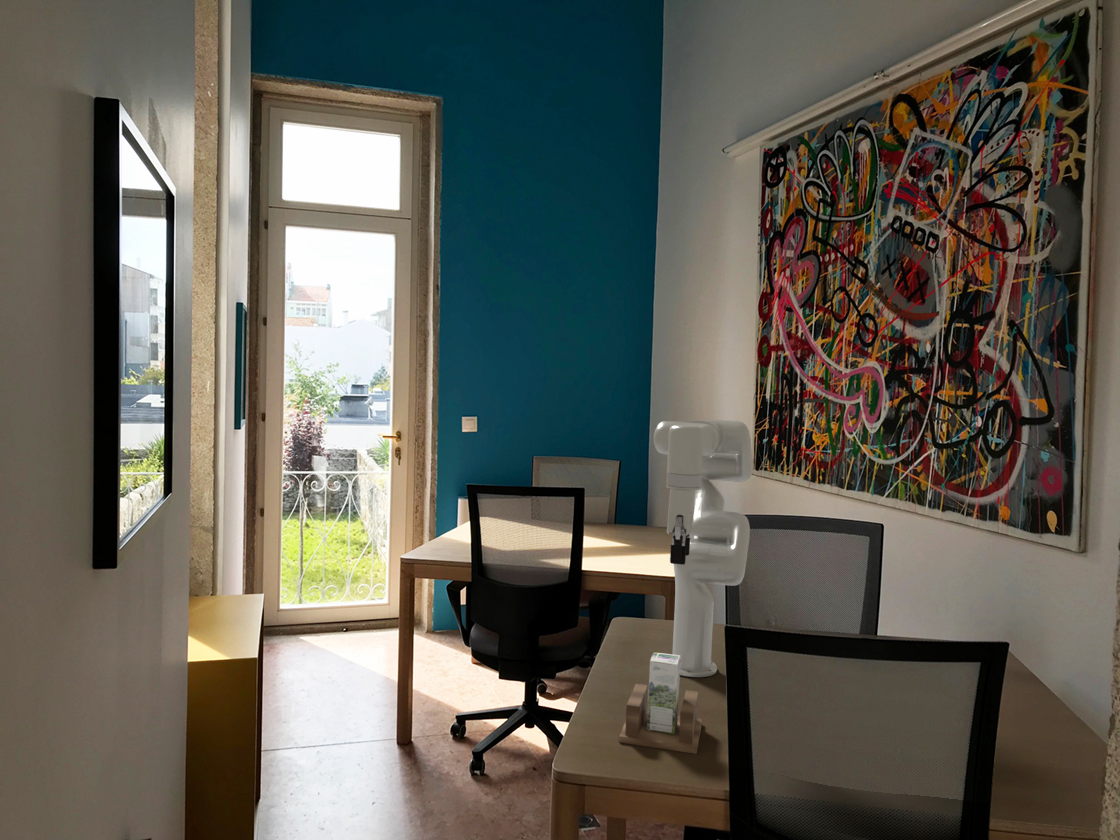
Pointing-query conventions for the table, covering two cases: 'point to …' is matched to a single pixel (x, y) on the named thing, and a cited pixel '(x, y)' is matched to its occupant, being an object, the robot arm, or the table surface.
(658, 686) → the syrup box
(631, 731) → the slot block
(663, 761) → the table surface
